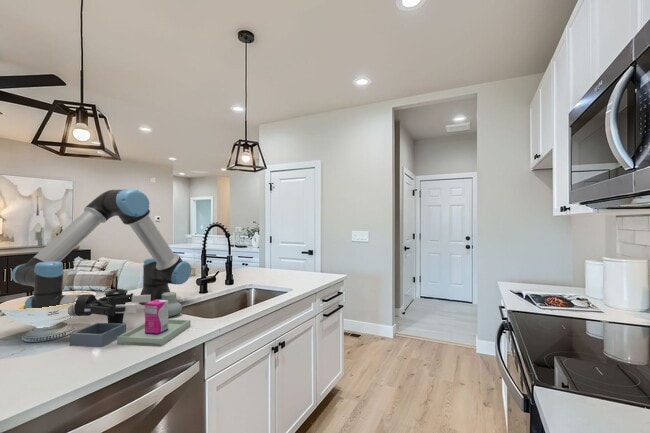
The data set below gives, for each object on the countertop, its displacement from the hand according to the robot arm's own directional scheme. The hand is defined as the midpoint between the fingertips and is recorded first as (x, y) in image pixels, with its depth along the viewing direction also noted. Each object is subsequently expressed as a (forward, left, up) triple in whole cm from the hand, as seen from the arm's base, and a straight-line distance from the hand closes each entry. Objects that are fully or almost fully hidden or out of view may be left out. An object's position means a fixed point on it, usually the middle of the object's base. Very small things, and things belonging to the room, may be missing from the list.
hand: (143, 303), depth 115 cm
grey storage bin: (+6, -13, -12) cm, 18 cm away
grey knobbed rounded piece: (-24, -4, -12) cm, 27 cm away
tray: (-1, +4, -12) cm, 13 cm away
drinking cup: (-8, -18, -12) cm, 23 cm away
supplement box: (-1, +4, -11) cm, 12 cm away
